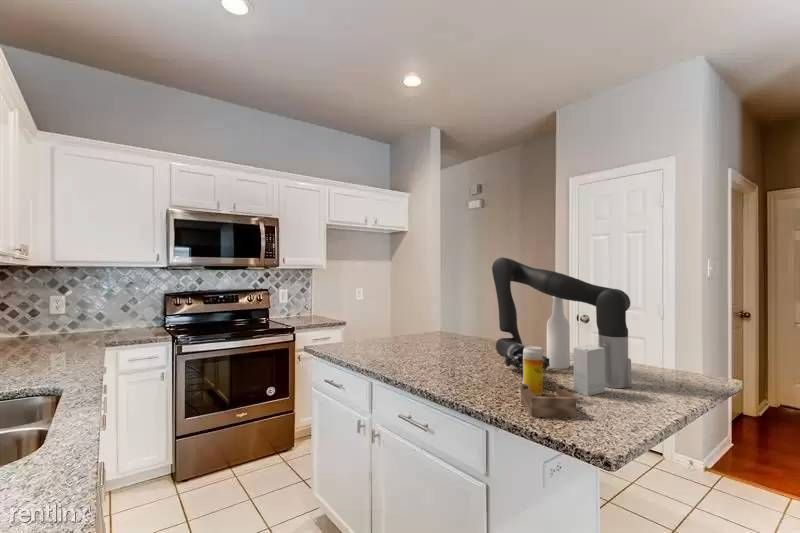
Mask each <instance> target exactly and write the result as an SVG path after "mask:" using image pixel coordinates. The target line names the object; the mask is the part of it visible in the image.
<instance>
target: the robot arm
mask: <svg viewBox="0 0 800 533" xmlns="http://www.w3.org/2000/svg"><path fill="white" fill-rule="evenodd" d="M491 270H492V271H491V272H492V273H491V274H492V277H493V282H494V286H495V292H496V298H497V304H498V306H497V307H498V322H499V324H498V325H499V329H500V331H501V332H503V333H509V334H511V336H512V337H502V338H498V340H497V341H496V342H495V350H496V352H497V354H498V355H499V356H500V357H502V358H504V360H503V362H504V365H505V366H507V367H511V366H512V367H514V368H516V369H523V350H524V347H526V346H525V345H524V344H523V342H522V338H521V335H520V332H519V328H518V317H517V316H518V314H517V308H516V304H515V301H514V298H513V294H512V290H511V288H512V287H511V282H514V283H519V284H523V285H527V286H529V287H531V288H533V289H534V290H536V291H538V292H541V293H542V294H545V295H548V296H551V297H553V296H554V297H557V298H561V299H563V300H566V301H570V302H571V301H572V302H580V303H584V304H588V305H591V306H593V307H595V312H596V313H595V314H596V316H595V317H596V326H597V332H598V336H597V337H598V345H597V347H602V348H605V387H607V388H612V389H613V388H614V389H626V388H632V359H631V358H629V328H628V326H627V318H626V317H627V316H626V315H627V313H626V312H627V311H628V310H629V309H630V308H631V299H630V297H629V296H628V294H627V293H626V292H625V291H623V290H621V289H617V288H611V287H605V286H601V285H597V284H592V283H589V282H587V281H584V280H581V279H578V278H575V277H573V276H570V275H567V274H565V273H560V272H558V271H557V272H556V271H553V270H549V269H543V268H537V267H536V268H534V267H531V266H529V265H526V264H523V263H521V262H518V261H516V260H514V259H512V258H506V257H499V258H496V259H495V260H494V262H493V263H492V266H491ZM548 366H550V365H549V358H547V356H545V355H543V370H546V369H547V368H549V367H548Z"/></svg>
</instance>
